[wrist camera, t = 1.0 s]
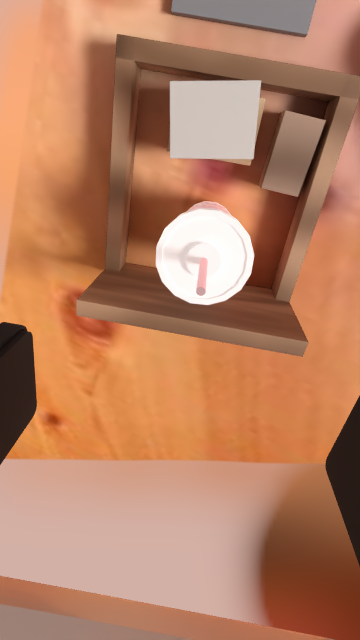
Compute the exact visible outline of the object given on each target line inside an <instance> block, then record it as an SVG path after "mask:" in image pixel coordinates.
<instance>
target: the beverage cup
mask: <svg viewBox="0 0 360 640" xmlns="http://www.w3.org/2000/svg"><path fill="white" fill-rule="evenodd" d="M253 260H254V252H253V248H252V244H251V239H250V236H249V234H248V233H247V232H246V230H245V229H244V228H243V226H242V225H241V224H240V222H239V221H238V220H237V219H236V218H235V217H233V216H231V214H230V213H229V212H228V211H227V209H226V208H225V207H224V206H222V205H220V204H218V203H216V202H210V201H203V202H200V203H197V204H194V205H193V206H192V207H191V208H190V209H189V210H188V211H186V212H185V213H182V214H180V215H179V216H178V217H177V218H176V219H174V220H173V221H172V222H171V223H170V224H169V225H168V226H167V227H166V228H165V229H164V231H163V233H162V235H161V238H160V240H159V242H158V244H157V246H156V267H157V270H158V272H159V275H160V278H161V280H162V282H163V283H164V285H165V286H166V287H167V288H168V289H169V290H170V291H171V292H172V293H173V294H174V295H175V296H177V297H179V298H181V299H183V300H185V301H187V302H189V303H193V304H203V305H210V304H214V303H218V302H222V301H226V300H227V299H229V298H230V297H232V296H233V295H234V294H236V293H237V292H239V291H240V290H241V289H242V287H243V286H244V284H245V283H246V281H247V280H248V278H249V277H250V275H251V271H252V266H253Z"/></svg>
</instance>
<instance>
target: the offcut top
mask: <svg viewBox="0 0 360 640" xmlns="http://www.w3.org/2000/svg"><path fill="white" fill-rule="evenodd" d="M260 89H261V80H246V81H170V158H194V159H254V149H255V139H256V129H257V119H258V109H259V99H260Z"/></svg>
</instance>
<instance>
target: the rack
mask: <svg viewBox="0 0 360 640" xmlns="http://www.w3.org/2000/svg"><path fill="white" fill-rule="evenodd" d="M141 69H146V70H152V71H158V72H164V73H170V74H175V75H181V76H187V77H193V78H198V79H204V80H210V81H246V80H261V89H262V90H268V91H274V92H279V93H285V94H291V95H297V96H302V97H308V98H314V99H320V100H326V101H329V103H328V106H327V110H326V113H325V116H324V119H323V120H326V122H325V125H324V127H323V130H322V133H321V135H320V138H319V141H318V144H317V146H316V149H315V152H314V154H313V157H312V160H311V163H310V165H309V168H308V171H307V174H306V178H305V181H304V184H303V187H302V191H301V194H300V197H299V200H298V204H297V207H296V210H295V213H294V217H293V220H292V223H291V226H290V230H289V233H288V236H287V239H286V242H285V246H284V249H283V252H282V255H281V259H280V262H279V265H278V268H277V272H276V275H275V278H274V281H273V285H272V288H271V289H268V288H263V287H257V286H252V285H246V284H244V286H243V287H242V289H241V290H240V291H239V292H237V293H236V294H234V295H233V296H232V297H230V298H229V299H227V300H226V301H222V302H218V303H214V304H210V305H203V304H193V303H189V302H187V301H185V300H183V299H181V298H179V297H177V296H175V295H174V294H173V293H172V292H171V291H170V290H169V289H168V288H167V287H166V286H165V285H164V283H163V282H162V280H161V278H160V275H159V272H158V270H157V268H152V267H147V266H141V265H136V264H130V263H126V252H127V239H128V227H129V214H130V202H131V189H132V177H133V164H134V151H135V139H136V126H137V114H138V101H139V89H140V76H141ZM359 98H360V76H358V75H352V74H346V73H340V72H334V71H329V70H323V69H317V68H311V67H305V66H300V65H294V64H288V63H282V62H276V61H270V60H265V59H259V58H253V57H247V56H241V55H236V54H230V53H224V52H218V51H212V50H206V49H201V48H195V47H189V46H183V45H177V44H172V43H166V42H160V41H154V40H148V39H142V38H137V37H131V36H125V35H119V34H117V41H116V61H115V81H114V102H113V122H112V142H111V162H110V182H109V202H108V223H107V243H106V263H105V270H104V271H103V272H102V273H101V274H100V275H99V276H98V277H97V278H96V279H95V280H94V282H93V283H92V284H91V285H90V286H89V287H88V288H87V289H86V290H85V291H84V292H83V294H82V295H81V296H80V297H79V298H78V299H77V315H78V316H83V317H88V318H94V319H99V320H105V321H110V322H116V323H121V324H127V325H132V326H138V327H143V328H149V329H154V330H159V331H165V332H170V333H176V334H181V335H187V336H192V337H198V338H203V339H209V340H214V341H220V342H225V343H231V344H236V345H241V346H247V347H252V348H258V349H263V350H269V351H274V352H280V353H285V354H291V355H296V356H302V357H303V355H304V352H305V350H306V347H307V345H308V340H307V338H306V336H305V334H304V332H303V330H302V328H301V326H300V323H299V321H298V319H297V317H296V315H295V313H294V311H293V309H292V307H291V305H290V303H289V301H290V298H291V295H292V293H293V290H294V287H295V284H296V281H297V278H298V275H299V272H300V269H301V266H302V263H303V261H304V258H305V255H306V252H307V249H308V246H309V243H310V240H311V237H312V234H313V231H314V229H315V226H316V223H317V220H318V217H319V214H320V211H321V208H322V205H323V202H324V199H325V197H326V194H327V191H328V188H329V185H330V182H331V179H332V176H333V173H334V170H335V167H336V165H337V162H338V159H339V156H340V153H341V150H342V147H343V144H344V141H345V138H346V135H347V133H348V130H349V127H350V124H351V121H352V118H353V115H354V112H355V109H356V106H357V103H358V101H359Z"/></svg>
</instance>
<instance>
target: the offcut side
mask: <svg viewBox="0 0 360 640" xmlns="http://www.w3.org/2000/svg"><path fill="white" fill-rule="evenodd" d="M325 122H326V120H323V119H319V118H315V117H311V116H307V115H303V114H298V113H294V112H290V111H286V110H285V111H284V112H282V113H280V116H279V119H278V122H277V125H276V129H275V132H274V135H273V138H272V142H271V145H270V148H269V151H268V155H267V158H266V161H265V164H264V168H263V171H262V174H261V177H260V181H259V184H258V186H260V187H261V188H263V189H267V190H271V191H275V192H279V193H283V194H288V195H292V196H296V197H298V195H299V192H300V190H301V187H302V184H303V182H304V179H305V176H306V173H307V171H308V168H309V165H310V163H311V160H312V157H313V154H314V152H315V149H316V146H317V144H318V141H319V138H320V135H321V133H322V130H323V127H324V125H325Z"/></svg>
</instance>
